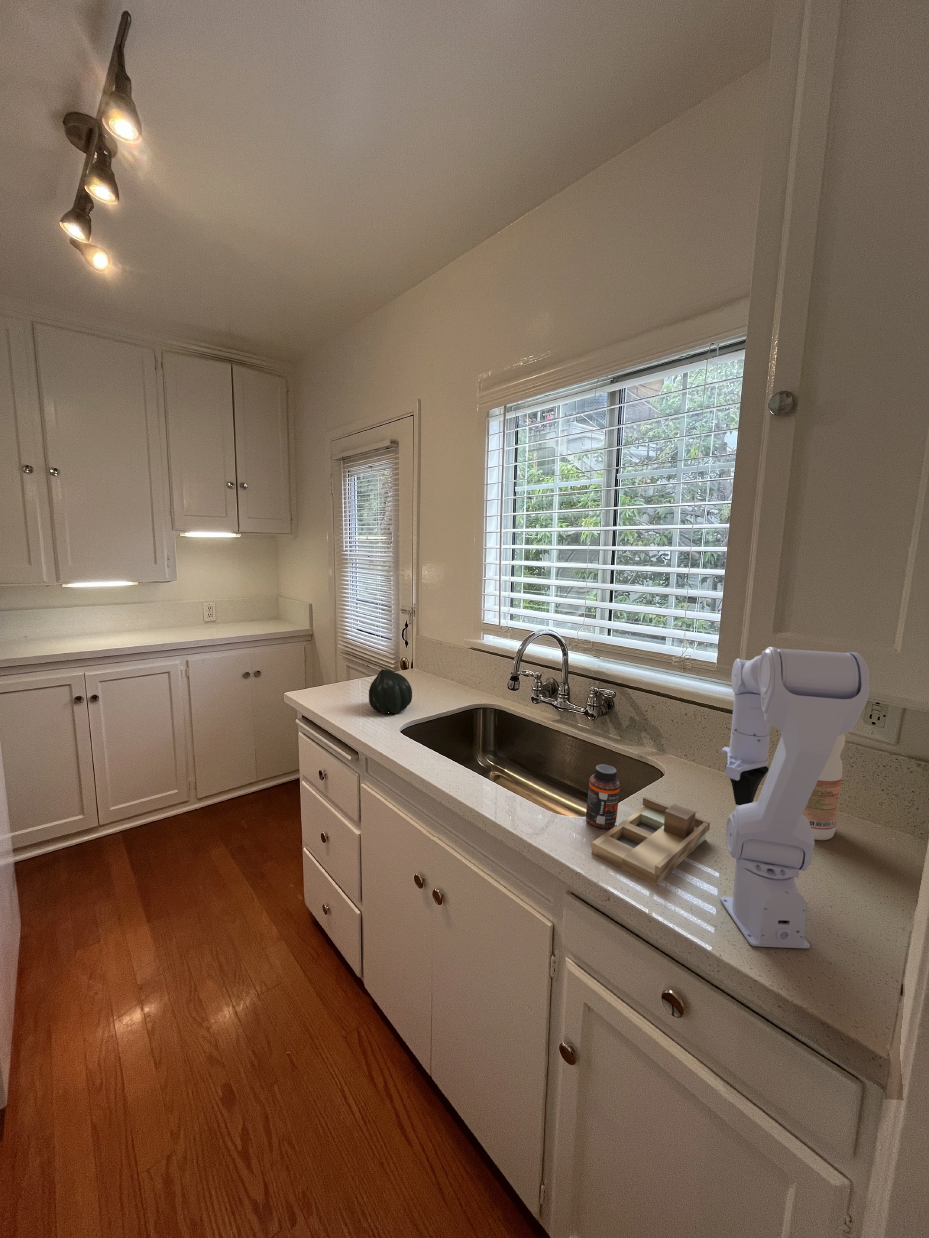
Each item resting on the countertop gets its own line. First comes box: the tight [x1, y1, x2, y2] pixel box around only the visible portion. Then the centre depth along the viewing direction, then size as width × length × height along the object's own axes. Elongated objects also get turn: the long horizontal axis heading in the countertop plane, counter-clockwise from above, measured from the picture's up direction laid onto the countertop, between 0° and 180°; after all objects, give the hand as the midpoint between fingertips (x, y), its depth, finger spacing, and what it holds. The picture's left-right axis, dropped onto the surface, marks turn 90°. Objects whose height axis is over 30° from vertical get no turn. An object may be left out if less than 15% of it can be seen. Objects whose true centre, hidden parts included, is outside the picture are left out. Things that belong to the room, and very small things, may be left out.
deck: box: [591, 796, 711, 887], centre depth 91 cm, size 20×13×4 cm, turn 133°
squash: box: [368, 668, 413, 714], centre depth 166 cm, size 14×15×15 cm
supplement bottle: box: [585, 763, 621, 829], centre depth 98 cm, size 6×6×11 cm
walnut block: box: [664, 803, 696, 839], centre depth 92 cm, size 4×4×4 cm
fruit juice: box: [802, 733, 846, 841], centre depth 96 cm, size 9×9×28 cm
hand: (743, 805), depth 86 cm, fingers closed
